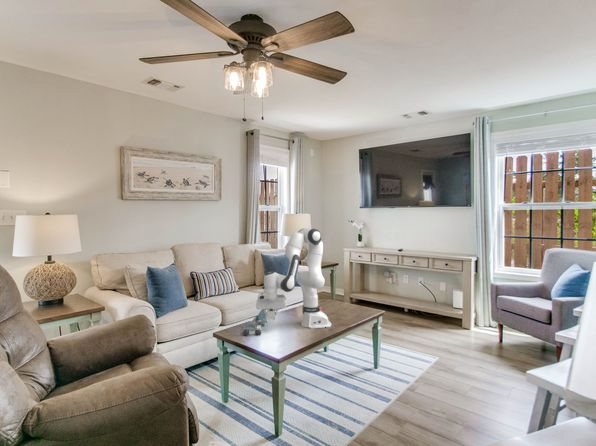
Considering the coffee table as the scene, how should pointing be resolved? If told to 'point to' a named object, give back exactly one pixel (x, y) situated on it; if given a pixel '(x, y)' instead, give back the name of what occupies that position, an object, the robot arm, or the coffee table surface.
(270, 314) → the cube with round knob
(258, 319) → the toy figure
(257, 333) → the chassis
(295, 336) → the coffee table surface
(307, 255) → the robot arm
